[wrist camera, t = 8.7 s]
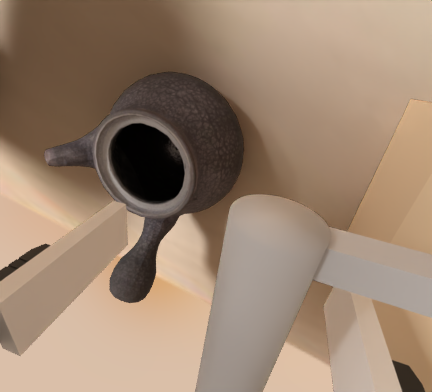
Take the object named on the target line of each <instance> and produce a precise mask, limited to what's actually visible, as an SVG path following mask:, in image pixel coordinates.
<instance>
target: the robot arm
mask: <svg viewBox="0 0 432 392" xmlns="http://www.w3.org/2000/svg"><path fill="white" fill-rule="evenodd" d="M127 245H128V235H127V213H126V204H123V203H120V202H116V201H112V202H111V203H110V204H108V205H107V206H105V207H104V208H103V209H101V210H100V211H98V212H97V213H95V214H94V215H93V216H91V217H90V218H88V219H87V220H86V221H84V222H83V223H81V224H80V225H79V226H77V227H76V228H74V229H73V230H72V231H70V232H69V233H67V234H66V235H65V236H63V237H62V238H61V239H59V240H58V241H57V242H55V243H53V244H52V245H47V244H44V245H41V246H39V247H36V248H34V249H31V250H30V251H28V252H27V253H26V254H24V255H22V256H21V257H19V259H18V260H15V261H14V262H12V263H11V264H9V266H8V267H5V268H3V269H2V270H0V343H1V345H2V347H3V348H4V349H6V350H8V351H10V352H12V353H15V354H17V355H19V356H21V354H23V353H24V352H25V351H26V350H27V348H28V347H29V346H30V345H31V344H32V343H33V342H34V341H35V340H36V339H37V338H38V337H39V336H40V335H41V334H42V333H43V332H44V331H45V330H46V329H47V328H48V327H49V326H50V325H51V324H52V322H54V321H55V319H56V318H57V317H58V316H59V315H60V314H61V313H62V312H63V311H64V310H65V309H66V308H67V307H68V306H69V305H70V304H71V303H72V302H73V301H74V300H75V299H76V298H77V297H78V296H79V295H80V294H81V293H82V292H83V290H84V289H85V288H86V287H87V286H88V285H89V284H90V283H91V282H92V281H93V280H94V279H95V278H96V277H97V276H98V275H99V274H100V273H101V272H102V271H103V270H104V269H105V268H106V267H107V266H108V265H109V263H111V261H112V260H113V259H114V258H115V257H116V256H117V255H118V254H119V253H120V252H121V251H122V250H123V249H124V248H125V247H126V246H127ZM323 307H324V315H325V324H326V332H327V340H328V349H329V357H330V366H331V373H332V382H333V391H334V392H425V389H424V387H423V385H422V383H421V382H420V380H419V379H418V378H417V376H416V375H415V373H414V372H413V370H412V369H411V368H410V366H409V365H406V364H403V363H400V362H397V361H394V360H391V356H390V353H389V350H388V347H387V344H386V341H385V338H384V335H383V332H382V329H381V326H380V323H379V320H378V317H377V314H376V311H375V308H374V305H373V302H372V299H371V298H368V297H364V296H361V295H358V294H355V293H352V292H349V291H346V290H342V289H339V288H336V287H333V289H332V291H331V292H330V294H329V296H328V298H327V300H326V302H325V304H324V306H323Z"/></svg>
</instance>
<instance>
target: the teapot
mask: <svg viewBox="0 0 432 392" xmlns="http://www.w3.org/2000/svg"><path fill="white" fill-rule="evenodd" d="M243 150H244V148H243V136H242V132H241V129H240V126H239V123H238V120H237V117H236V115H235V114H234V112H233V110H232V109H231V107H230V106H229V104H228V103H227V101H226V100H225V99H224V98H223V97H222V96H221V95H220V94H219V93H218V92H217V91H216V90H215V89H214V88H213V87H212V86H210V85H209V84H207V83H206V82H204V81H202V80H200V79H198V78H196V77H193V76H190V75H187V74H182V73H174V72H164V73H158V74H153V75H149V76H147V77H144V78H142V79H140V80H139V81H137V82H135V83H134V84H132V85H131V86H130V87H128V88H127V89H126V90H125V91H124V92H123V93H122V95H121V96H120V97H119V98H118V100H117V101H116V103H115V104H114V106H113V108H112V110H111V112H110V114H109V115H108V116H107V117H106V118H105V119H104V120H103V121H102V122H101V123H100V125H99V126H98V127H97V128H95V129H94V130H93V131H91V132H90V133H88V134H87V135H85V136H84V137H82V138H80V139H78V140H76V141H73V142H70V143H67V144H63V145H60V146H56V147H53V148H50V149H46V151H45V153H44V156H45V160H46V162H47V164H48V165H49V166H85V167H91V168H95V169H96V171H97V174H98V176H99V179H100V181H101V183H102V185H103V186H104V188H105V189H106V190H107V191H108V193H109V194H110V195H111V196H112V197H113V199H114V200H115V201H116V202H120V203H123V204H126V209H127V210H128V211H130V212H132V213H134V214H137V215H139V216H141V217H145V221H144V228H143V232H142V235H141V237H140V238H139V240H138V242H137V243H136V245H135V246H134V247H133V248H132V249H131V250H130V251H129V252H128V253H127V254H126V255H124V256H123V257H122V258H121V259H120V261H119V262H118V264H117V265H116V267H115V268H114V270H113V272H112V275H111V277H110V291H111V293H112V294H113V296H114V297H115V298H117V299H119V300H121V301H124V302H128V303H134V302H139V301H141V300H143V299H144V298H145V297H146V296H147V294H148V293H149V291H150V289H151V287H152V285H153V282H154V279H155V275H156V254H157V250H158V246H159V244H160V242H161V240H162V239H163V238H164V236H165V235H166V234H167V233H168V232H169V231H170V230H171V228H172V227H173V226H174V225H175V223H176V221H177V220H178V218H179V216H181V215H183V214H187V213H195V212H198V211H201V210H204V209H207V208H209V207H211V206H212V205H214V204H216V203H217V202H218V201H220V200H221V199H222V198H223V197H224V196H225V195H226V194H227V193H228V192H229V191H230V190H231V189H232V187H233V185H234V184H235V182H236V180H237V178H238V176H239V173H240V170H241V166H242V160H243Z"/></svg>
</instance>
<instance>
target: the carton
mask: <svg viewBox="0 0 432 392" xmlns="http://www.w3.org/2000/svg"><path fill="white" fill-rule="evenodd" d="M431 174H432V102H427V101H421V100H415V99H410V102H409V104H408V106H407V108H406V110H405V112H404V114H403V116H402V118H401V120H400V122H399V124H398V127H397V129H396V131H395V133H394V135H393V137H392V139H391V141H390V143H389V145H388V147H387V149H386V152H385V154H384V156H383V158H382V160H381V162H380V164H379V166H378V168H377V170H376V172H375V175H374V177H373V179H372V181H371V183H370V185H369V187H368V189H367V191H366V193H365V195H364V197H363V200H362V202H361V204H360V206H359V208H358V210H357V212H356V214H355V216H354V218H353V220H352V222H351V225H350V227H349V229H348V231H347V232H350V233H354V234H358V235H361V236H365V237H369V238H372V239H376V240H380V241H383V242H387V243H390V242H391V241H392V239H393V237H394V236H395V234H396V232H397V230H398V229H399V227H400V225H401V224H402V222H403V220H404V219H405V217H406V215H407V214H408V212H409V210H410V209H411V207H412V205H413V204H414V202H415V200H416V199H417V197H418V195H419V194H420V192H421V190H422V189H423V187H424V185H425V184H426V182H427V180H428V179H429V177H430V175H431Z"/></svg>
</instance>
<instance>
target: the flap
mask: <svg viewBox="0 0 432 392" xmlns="http://www.w3.org/2000/svg"><path fill="white" fill-rule="evenodd" d="M312 280H314V281H317V282H320V283H324V284H327V285H330V286H333V287H336V288H339V289H342V290H346V291H349V292H352V293H355V294H358V295H361V296H364V297H368V298H371V299H372V302H373V305H374V308H375V311H376V314H377V317H378V320H379V323H380V326H381V329H382V332H383V335H384V338H385V341H386V344H387V347H388V350H389V353H390V356H391V360H394V361H397V362H400V363H403V364H406V365H409V366H410V368H411V369H412V370H413V372H414V373H415V375H416V376H417V378H418V379H419V380H420V382H421V383H422V385H423V387H424V389H425V392H432V174H431V175H430V177H429V179H428V180H427V182H426V184H425V185H424V187H423V189H422V190H421V192H420V194H419V195H418V197H417V199H416V200H415V202H414V204H413V205H412V207H411V209H410V210H409V212H408V214H407V215H406V217H405V219H404V220H403V222H402V224H401V225H400V227H399V229H398V230H397V232H396V234H395V236H394V237H393V239H392V241H391V242H390V243H387V242H383V241H380V240H376V239H372V238H369V237H365V236H361V235H358V234H354V233H350V232H347V231H343V230H339V229H336V228H332V227H329V226H328V225H327V223H326V222H325V221H324V220H323V219H322V218H321V217H320V216H319V215H318V214H317V213H315V212H314V211H313V210H311V209H310V208H308V207H306V206H304V205H302V204H300V203H298V202H295V201H293V200H290V199H287V198H283V197H279V196H274V195H266V194H254V195H247V196H243V197H241V198H238V199H237V200H235V201H234V202H233V203H232V205H231V206H230V210H229V215H228V220H227V225H226V231H225V236H224V241H223V247H222V252H221V257H220V263H219V268H218V273H217V279H216V284H215V289H214V295H213V300H212V305H211V311H210V316H209V321H208V326H207V332H206V337H205V342H204V348H203V353H202V358H201V364H200V369H199V374H198V379H197V385H196V390H195V392H263V389H264V387H265V385H266V383H267V381H268V378H269V376H270V374H271V372H272V369H273V367H274V365H275V363H276V361H277V358H278V356H279V354H280V352H281V349H282V347H283V345H284V343H285V340H286V338H287V336H288V334H289V332H290V329H291V327H292V325H293V323H294V320H295V318H296V316H297V314H298V312H299V309H300V307H301V305H302V303H303V300H304V298H305V296H306V294H307V291H308V289H309V287H310V285H311V283H312Z"/></svg>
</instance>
